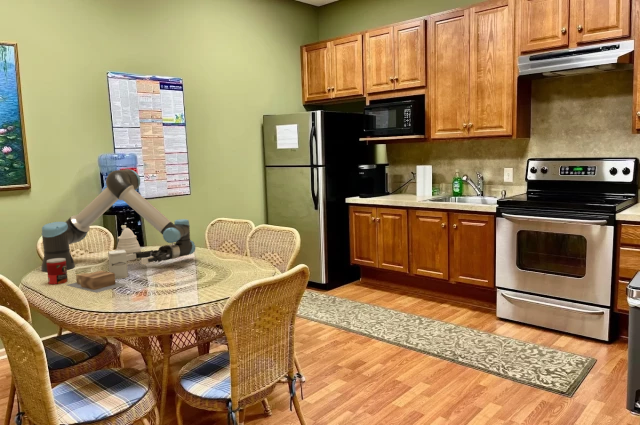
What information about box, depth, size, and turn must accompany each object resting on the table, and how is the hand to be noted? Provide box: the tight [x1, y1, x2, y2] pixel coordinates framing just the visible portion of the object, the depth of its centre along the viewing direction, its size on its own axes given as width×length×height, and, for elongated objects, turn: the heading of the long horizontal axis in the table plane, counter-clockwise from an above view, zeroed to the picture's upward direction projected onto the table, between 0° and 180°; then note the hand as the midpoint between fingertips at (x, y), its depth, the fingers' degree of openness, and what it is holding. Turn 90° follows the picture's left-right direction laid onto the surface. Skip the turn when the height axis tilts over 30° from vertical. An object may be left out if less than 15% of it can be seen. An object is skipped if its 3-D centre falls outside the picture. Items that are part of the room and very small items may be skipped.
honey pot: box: [115, 224, 142, 255], centre depth 275 cm, size 13×13×18 cm
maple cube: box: [75, 272, 89, 284], centre depth 220 cm, size 4×4×4 cm
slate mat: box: [66, 281, 127, 294], centre depth 217 cm, size 24×14×1 cm, turn 56°
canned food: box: [46, 258, 69, 285], centre depth 222 cm, size 8×8×11 cm
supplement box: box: [107, 250, 129, 280], centre depth 229 cm, size 7×7×13 cm
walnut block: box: [80, 270, 116, 290], centre depth 215 cm, size 10×10×5 cm
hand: (132, 260), depth 236 cm, fingers open, 13 cm apart
